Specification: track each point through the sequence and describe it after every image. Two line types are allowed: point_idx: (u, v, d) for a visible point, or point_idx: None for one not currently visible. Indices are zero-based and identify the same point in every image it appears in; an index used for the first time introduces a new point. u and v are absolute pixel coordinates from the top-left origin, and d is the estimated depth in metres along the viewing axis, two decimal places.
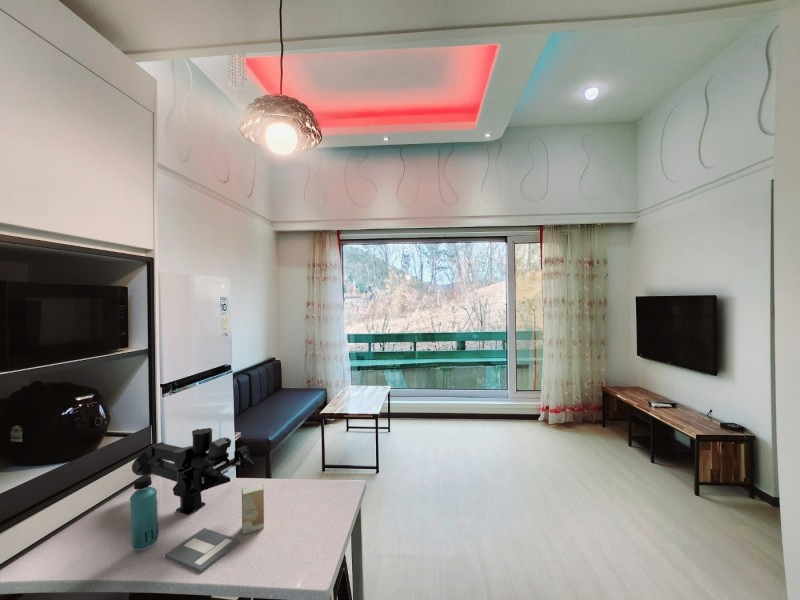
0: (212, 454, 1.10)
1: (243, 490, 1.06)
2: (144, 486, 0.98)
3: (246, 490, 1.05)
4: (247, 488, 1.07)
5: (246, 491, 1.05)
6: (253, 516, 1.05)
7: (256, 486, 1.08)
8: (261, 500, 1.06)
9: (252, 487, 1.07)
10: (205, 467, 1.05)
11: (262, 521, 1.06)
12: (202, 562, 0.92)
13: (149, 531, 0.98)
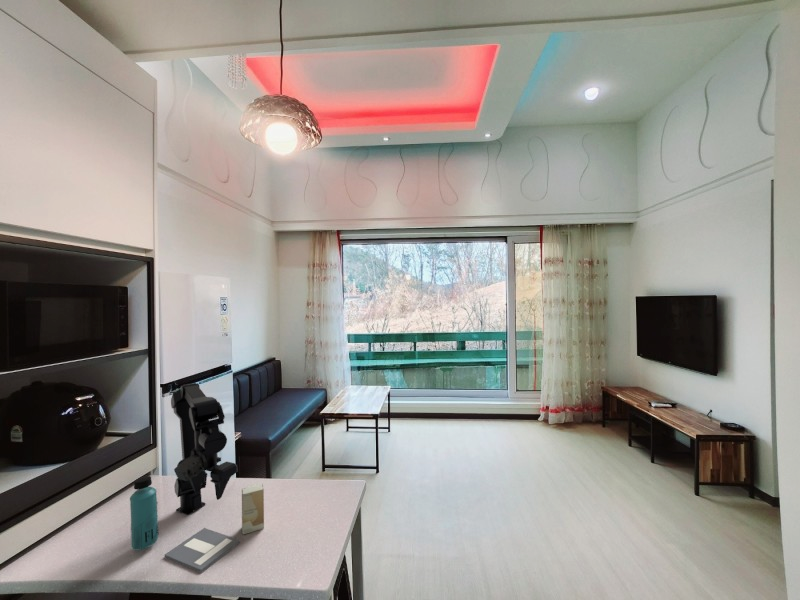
0: None
1: (243, 490, 1.06)
2: (144, 486, 0.98)
3: (246, 490, 1.05)
4: (247, 488, 1.07)
5: (246, 491, 1.05)
6: (253, 516, 1.05)
7: (256, 486, 1.08)
8: (261, 500, 1.06)
9: (252, 487, 1.07)
10: None
11: (262, 521, 1.06)
12: (202, 562, 0.92)
13: (149, 531, 0.98)
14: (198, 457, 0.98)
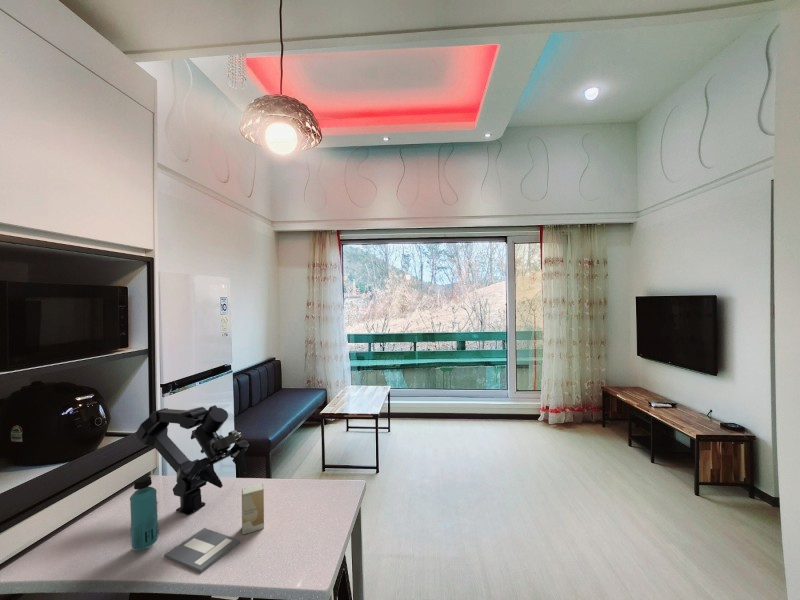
0: (218, 447, 1.09)
1: (243, 490, 1.06)
2: (144, 486, 0.98)
3: (246, 490, 1.05)
4: (247, 488, 1.07)
5: (246, 491, 1.05)
6: (253, 516, 1.05)
7: (256, 486, 1.08)
8: (261, 500, 1.06)
9: (252, 487, 1.07)
10: (207, 461, 1.05)
11: (262, 521, 1.06)
12: (202, 562, 0.92)
13: (149, 531, 0.98)
14: (221, 438, 1.14)
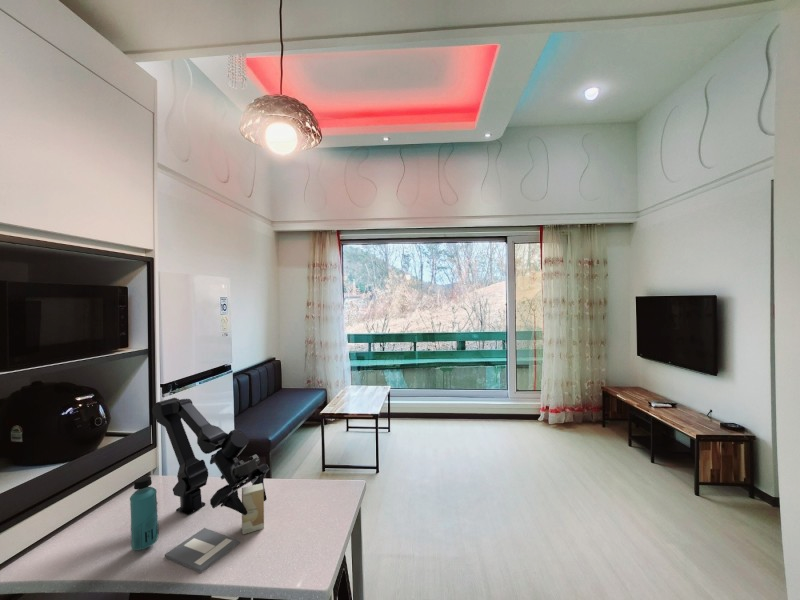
0: (239, 473, 1.05)
1: (243, 490, 1.06)
2: (144, 486, 0.98)
3: (246, 490, 1.05)
4: (247, 488, 1.07)
5: (246, 491, 1.05)
6: (253, 516, 1.05)
7: (256, 486, 1.08)
8: (261, 500, 1.06)
9: (252, 487, 1.07)
10: (229, 489, 1.02)
11: (262, 521, 1.06)
12: (202, 562, 0.92)
13: (149, 531, 0.98)
14: (242, 464, 1.10)
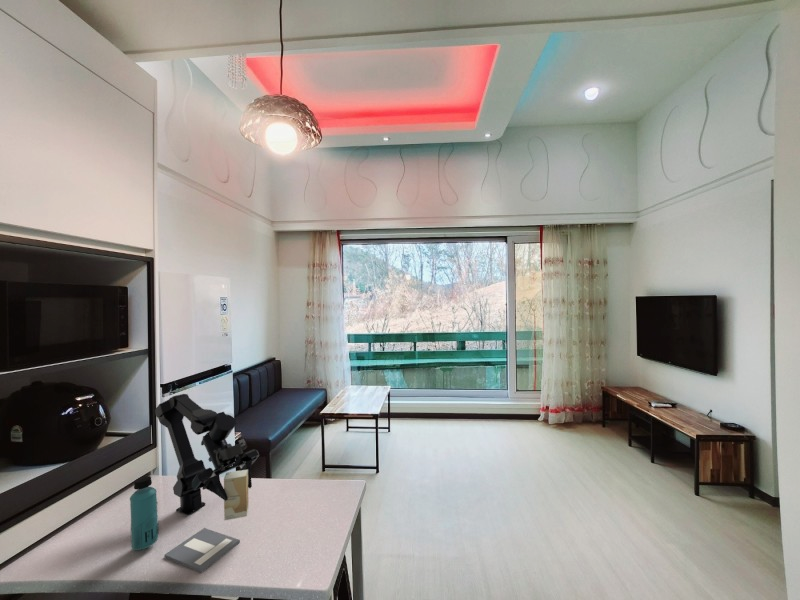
0: (223, 457, 1.02)
1: (226, 475, 1.02)
2: (144, 486, 0.98)
3: (228, 476, 1.02)
4: (231, 473, 1.03)
5: (228, 477, 1.01)
6: (235, 502, 1.01)
7: (240, 472, 1.04)
8: (243, 487, 1.01)
9: (236, 472, 1.03)
10: (210, 472, 0.99)
11: (245, 509, 1.02)
12: (202, 562, 0.92)
13: (149, 531, 0.98)
14: (229, 447, 1.07)
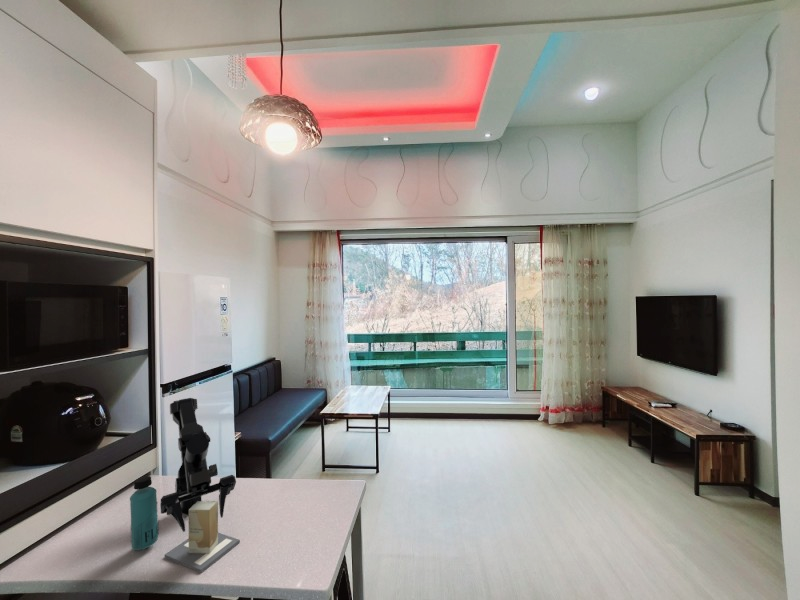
0: (190, 482, 0.97)
1: (194, 505, 0.97)
2: (144, 486, 0.98)
3: (195, 506, 0.97)
4: (199, 503, 0.98)
5: (194, 507, 0.96)
6: (198, 536, 0.95)
7: (208, 503, 0.98)
8: (207, 521, 0.95)
9: (205, 503, 0.98)
10: (174, 498, 0.95)
11: (208, 545, 0.95)
12: (202, 562, 0.92)
13: (149, 531, 0.98)
14: None
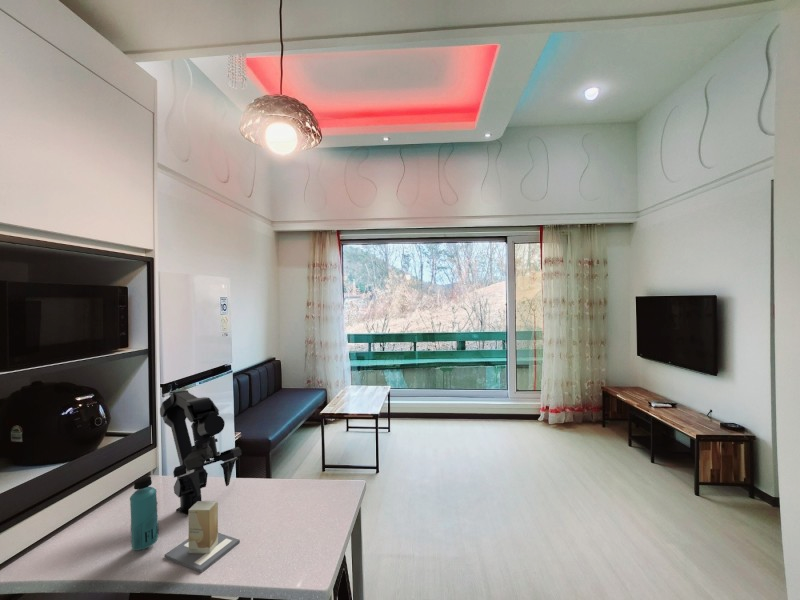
0: None
1: (194, 505, 0.97)
2: (144, 486, 0.98)
3: (195, 506, 0.97)
4: (199, 503, 0.98)
5: (194, 507, 0.96)
6: (198, 536, 0.95)
7: (208, 504, 0.98)
8: (206, 521, 0.95)
9: (205, 503, 0.98)
10: (181, 471, 1.04)
11: (208, 545, 0.95)
12: (202, 562, 0.92)
13: (149, 531, 0.98)
14: (203, 447, 1.05)
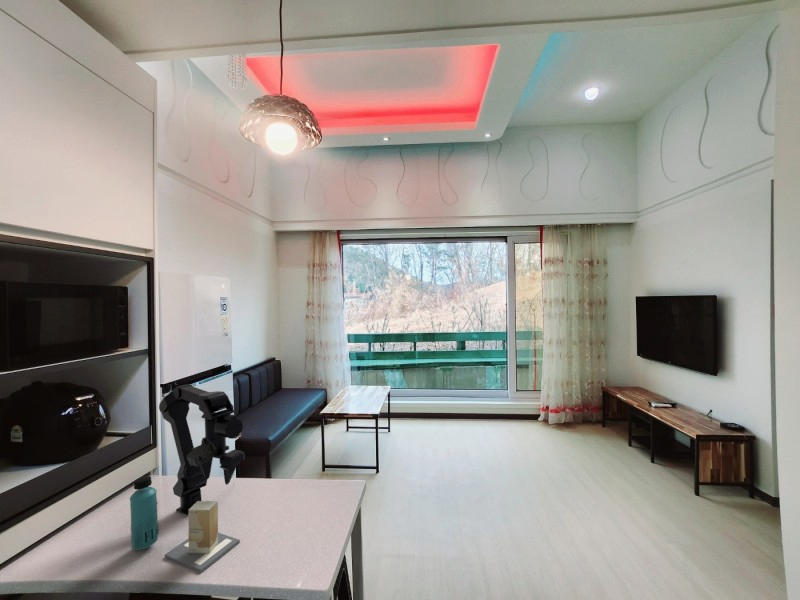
0: None
1: (194, 505, 0.97)
2: (144, 486, 0.98)
3: (195, 506, 0.97)
4: (199, 503, 0.98)
5: (194, 507, 0.96)
6: (198, 536, 0.95)
7: (208, 504, 0.98)
8: (206, 521, 0.95)
9: (205, 503, 0.98)
10: None
11: (208, 545, 0.95)
12: (202, 562, 0.92)
13: (149, 531, 0.98)
14: (208, 445, 1.06)
